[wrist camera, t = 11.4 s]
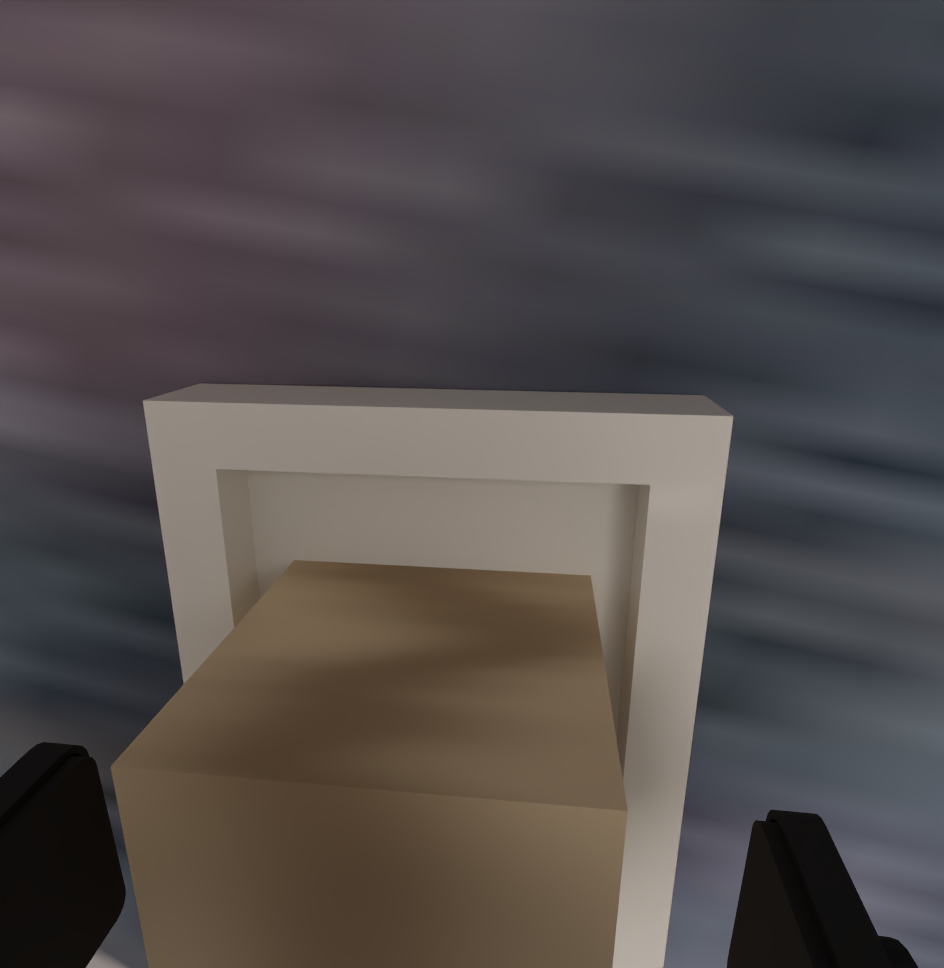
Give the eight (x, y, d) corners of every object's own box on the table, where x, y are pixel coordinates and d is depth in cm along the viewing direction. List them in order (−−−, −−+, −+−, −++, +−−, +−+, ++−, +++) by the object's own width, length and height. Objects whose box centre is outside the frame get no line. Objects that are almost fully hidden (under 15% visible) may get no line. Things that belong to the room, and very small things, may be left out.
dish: (704, 395, 12) (733, 415, 10) (645, 916, 16) (659, 1000, 14) (199, 383, 13) (142, 400, 11) (257, 877, 17) (222, 951, 15)
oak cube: (590, 575, 13) (628, 811, 7) (574, 820, 15) (592, 1165, 9) (294, 560, 13) (110, 766, 8) (313, 797, 15) (175, 1108, 10)
